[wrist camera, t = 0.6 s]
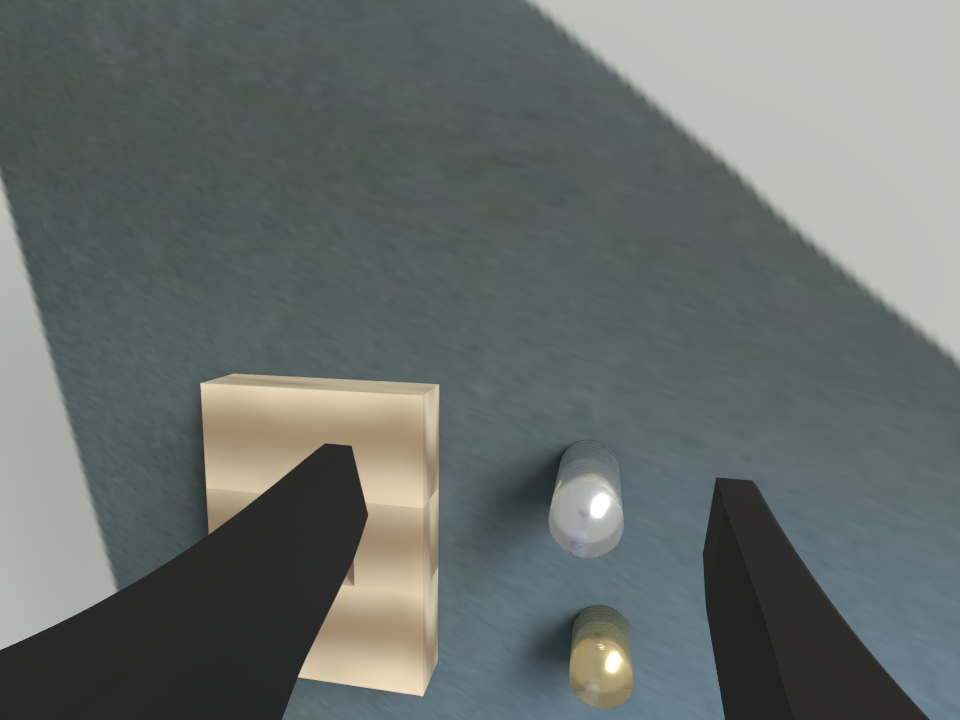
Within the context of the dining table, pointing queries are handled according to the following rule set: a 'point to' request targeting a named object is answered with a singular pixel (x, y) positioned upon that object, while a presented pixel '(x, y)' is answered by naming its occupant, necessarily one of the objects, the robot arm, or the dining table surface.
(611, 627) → the short pin
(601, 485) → the long pin
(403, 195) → the dining table surface
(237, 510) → the hole block
